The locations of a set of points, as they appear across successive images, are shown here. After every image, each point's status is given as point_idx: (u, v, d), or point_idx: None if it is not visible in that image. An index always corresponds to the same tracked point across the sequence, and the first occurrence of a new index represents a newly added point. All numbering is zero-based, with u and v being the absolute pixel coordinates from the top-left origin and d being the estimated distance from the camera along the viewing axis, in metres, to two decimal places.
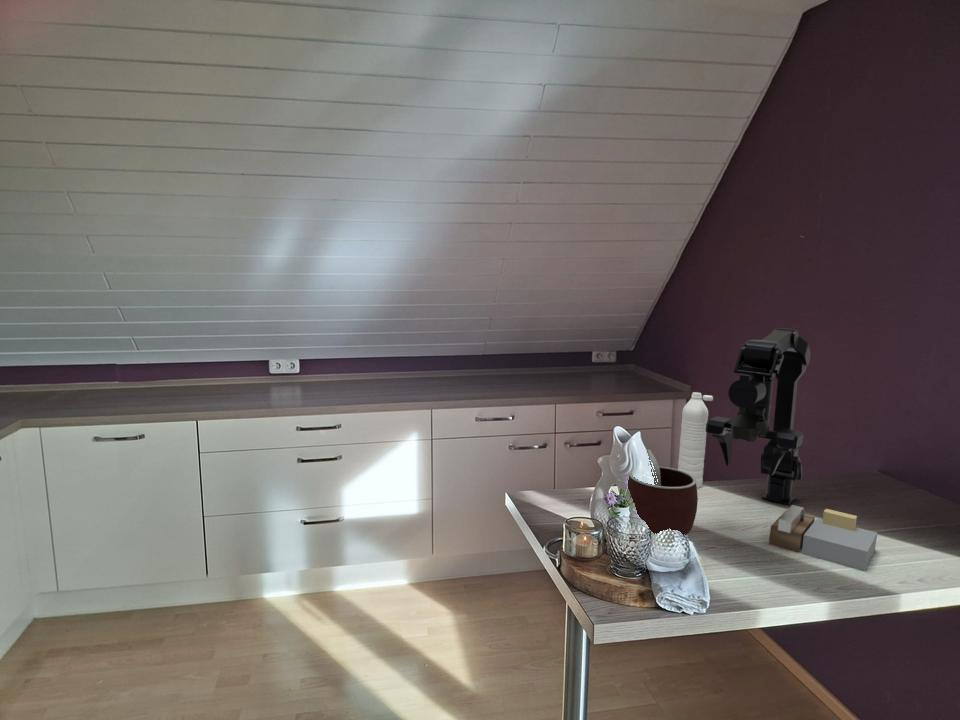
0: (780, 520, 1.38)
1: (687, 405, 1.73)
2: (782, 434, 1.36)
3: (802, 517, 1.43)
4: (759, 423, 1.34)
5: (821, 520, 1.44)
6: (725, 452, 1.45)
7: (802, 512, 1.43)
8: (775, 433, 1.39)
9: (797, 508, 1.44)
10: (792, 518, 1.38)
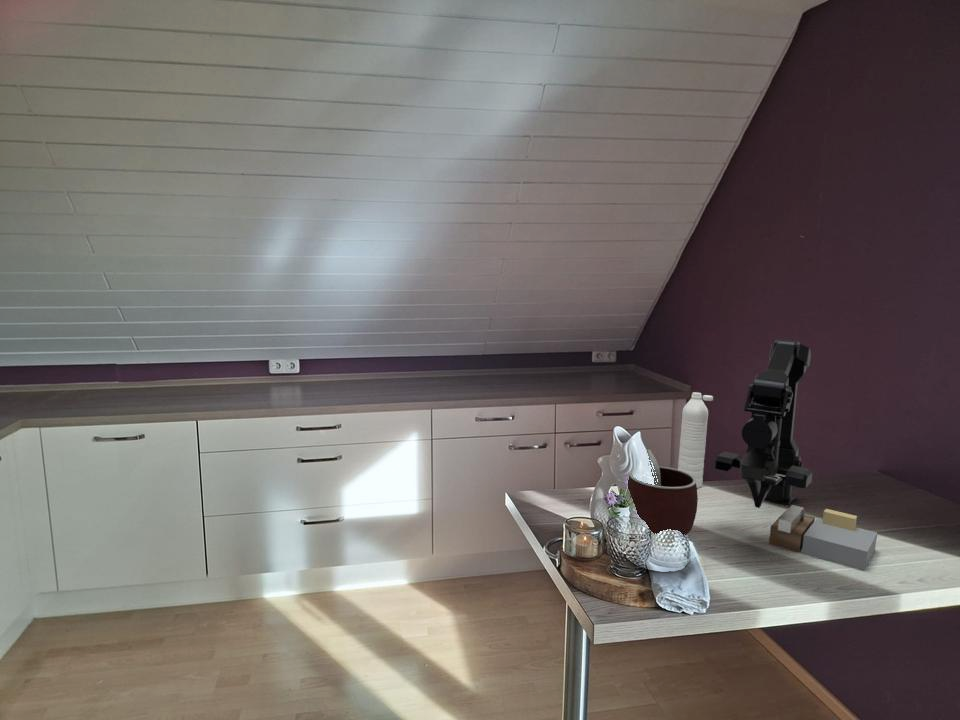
0: (780, 520, 1.38)
1: (687, 405, 1.73)
2: (791, 473, 1.35)
3: (802, 517, 1.43)
4: (768, 462, 1.33)
5: (821, 520, 1.44)
6: (754, 493, 1.42)
7: (802, 512, 1.43)
8: (784, 471, 1.38)
9: (797, 508, 1.44)
10: (792, 518, 1.38)
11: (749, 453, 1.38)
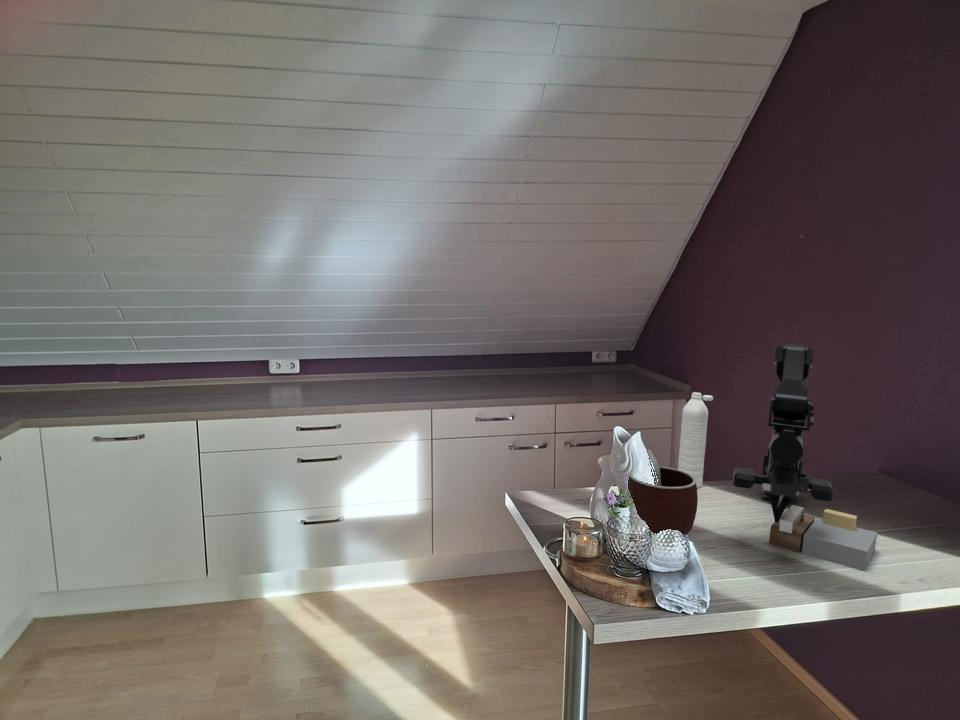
0: (781, 520, 1.37)
1: (687, 405, 1.73)
2: (817, 486, 1.34)
3: (802, 517, 1.43)
4: (802, 479, 1.30)
5: (821, 520, 1.44)
6: (775, 509, 1.39)
7: (802, 512, 1.43)
8: None
9: (797, 508, 1.44)
10: (793, 518, 1.38)
11: (776, 469, 1.35)
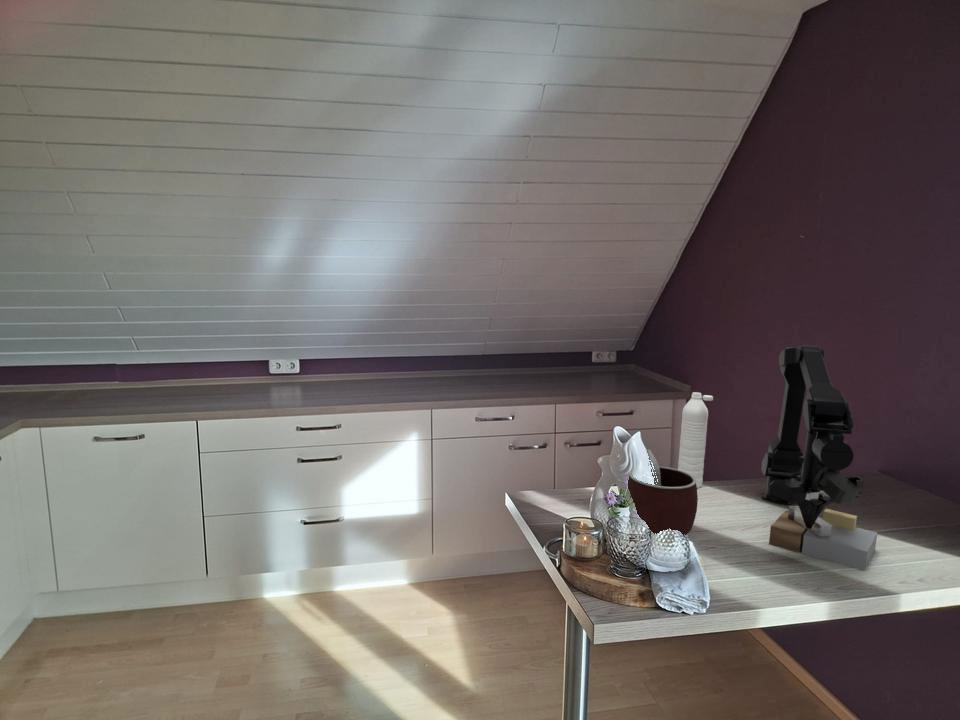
0: (822, 526, 1.35)
1: (687, 405, 1.73)
2: None
3: None
4: (859, 482, 1.30)
5: None
6: (813, 515, 1.36)
7: None
8: None
9: None
10: (822, 520, 1.37)
11: (829, 477, 1.31)
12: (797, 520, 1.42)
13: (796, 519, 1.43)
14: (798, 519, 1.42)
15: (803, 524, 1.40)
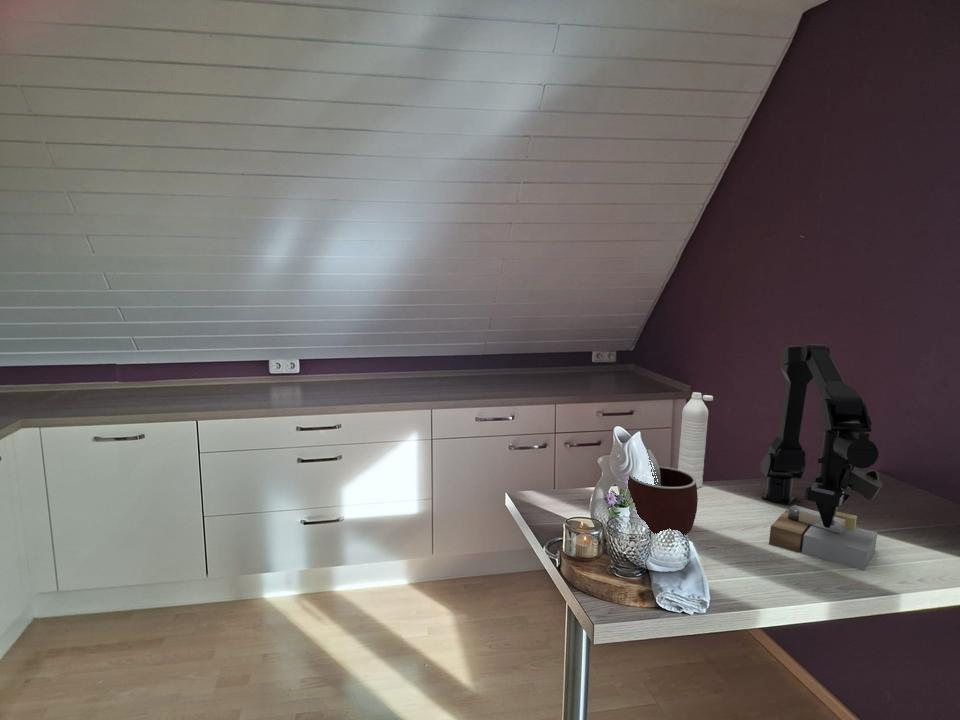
0: (842, 523, 1.37)
1: (687, 405, 1.73)
2: None
3: None
4: (878, 475, 1.34)
5: None
6: (834, 514, 1.36)
7: None
8: None
9: (799, 507, 1.44)
10: None
11: (857, 474, 1.32)
12: (804, 520, 1.42)
13: (802, 519, 1.42)
14: (805, 519, 1.42)
15: (813, 523, 1.41)
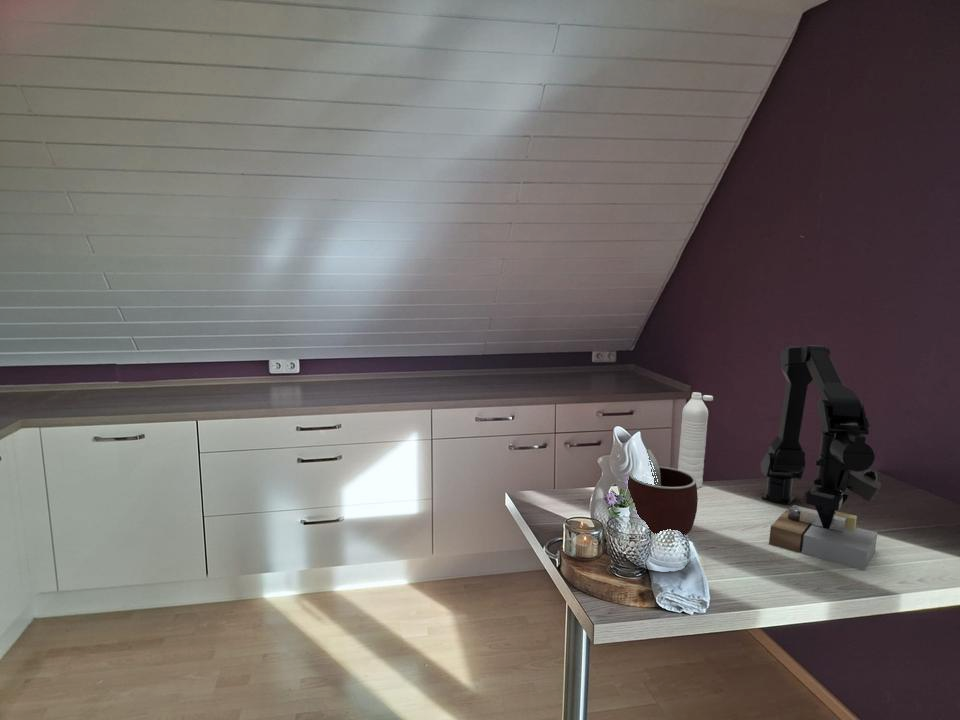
0: (844, 521, 1.38)
1: (687, 405, 1.73)
2: None
3: None
4: (876, 475, 1.34)
5: None
6: (833, 516, 1.36)
7: None
8: None
9: (799, 507, 1.44)
10: None
11: (856, 476, 1.32)
12: (805, 520, 1.42)
13: (803, 519, 1.43)
14: (807, 519, 1.42)
15: (815, 523, 1.41)
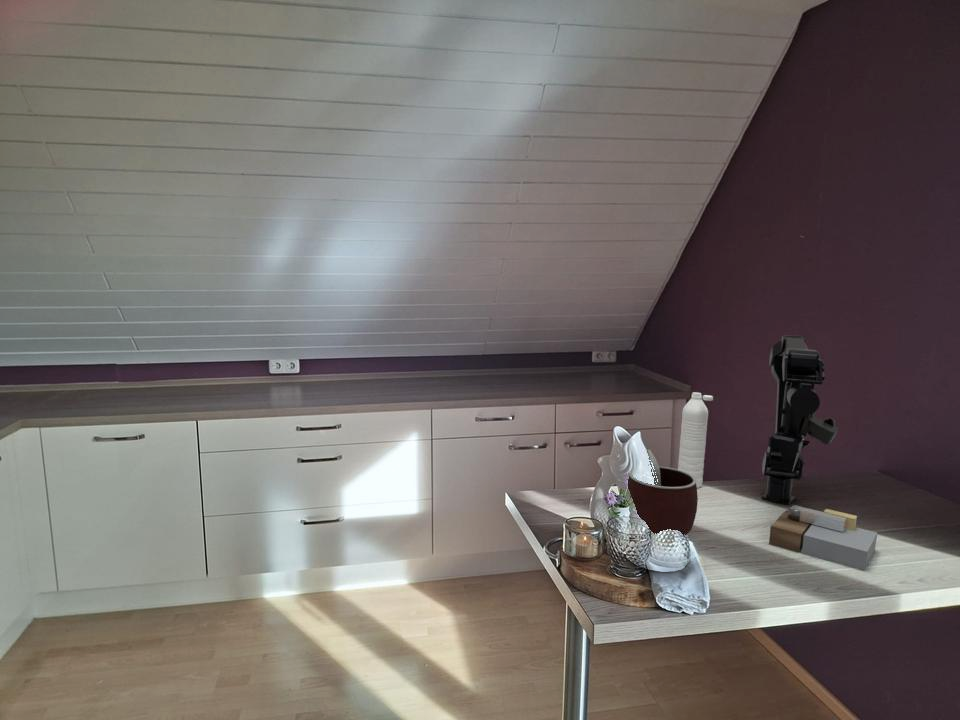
0: (844, 521, 1.38)
1: (687, 405, 1.73)
2: None
3: None
4: (834, 422, 1.48)
5: None
6: (795, 459, 1.50)
7: None
8: None
9: (799, 507, 1.44)
10: (834, 515, 1.41)
11: (815, 422, 1.46)
12: (805, 520, 1.42)
13: (803, 519, 1.43)
14: (807, 519, 1.42)
15: (815, 523, 1.41)
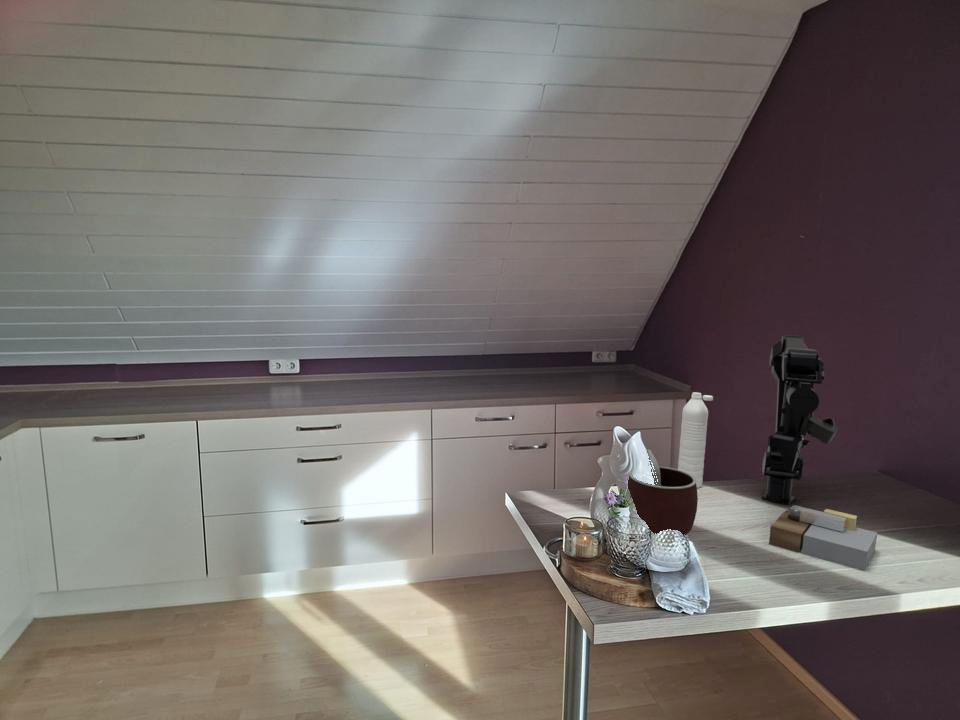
0: (844, 521, 1.38)
1: (687, 405, 1.73)
2: None
3: None
4: (833, 421, 1.48)
5: None
6: (795, 459, 1.50)
7: None
8: None
9: (799, 507, 1.44)
10: (834, 515, 1.41)
11: (815, 422, 1.46)
12: (805, 520, 1.42)
13: (803, 519, 1.43)
14: (807, 519, 1.42)
15: (815, 523, 1.41)
